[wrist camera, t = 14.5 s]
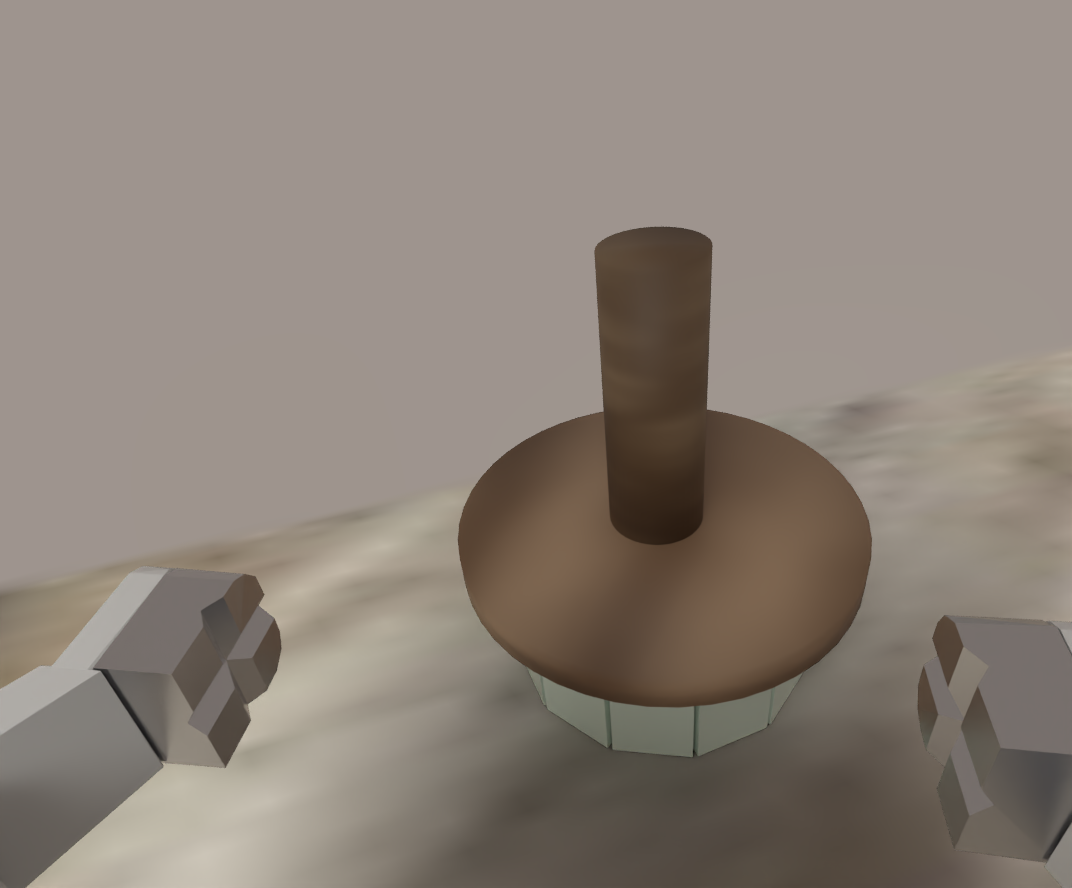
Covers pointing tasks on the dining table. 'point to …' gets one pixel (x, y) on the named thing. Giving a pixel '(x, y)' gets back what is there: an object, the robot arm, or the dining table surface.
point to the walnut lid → (663, 516)
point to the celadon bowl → (663, 719)
